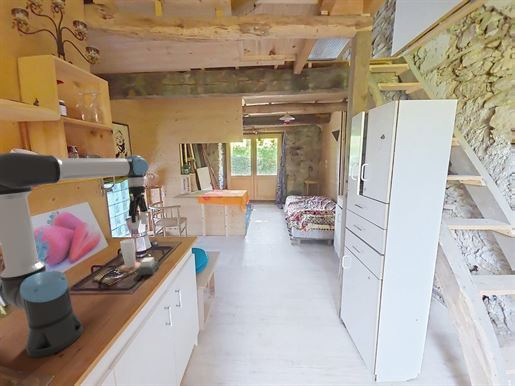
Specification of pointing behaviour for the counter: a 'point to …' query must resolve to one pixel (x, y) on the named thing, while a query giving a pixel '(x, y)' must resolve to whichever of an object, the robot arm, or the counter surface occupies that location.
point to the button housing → (148, 269)
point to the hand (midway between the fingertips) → (139, 226)
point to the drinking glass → (128, 252)
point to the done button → (147, 262)
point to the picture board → (120, 269)
